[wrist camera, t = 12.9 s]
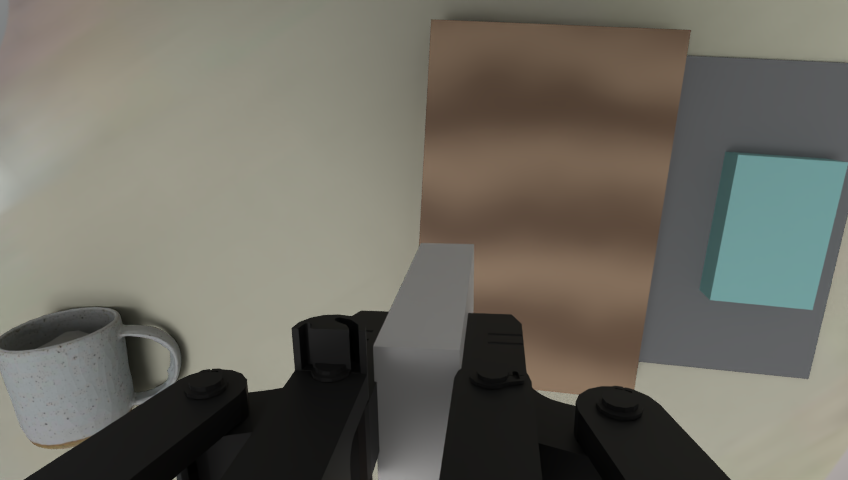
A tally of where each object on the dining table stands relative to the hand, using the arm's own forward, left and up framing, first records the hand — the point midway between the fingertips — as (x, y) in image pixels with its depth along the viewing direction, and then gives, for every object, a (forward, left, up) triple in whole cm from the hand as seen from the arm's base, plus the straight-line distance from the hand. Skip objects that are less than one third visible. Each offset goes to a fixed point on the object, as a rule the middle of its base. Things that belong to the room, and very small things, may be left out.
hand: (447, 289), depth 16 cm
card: (+2, +18, -20) cm, 27 cm away
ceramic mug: (+15, -27, -23) cm, 38 cm away
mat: (+2, +17, -23) cm, 28 cm away
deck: (+2, +4, -23) cm, 23 cm away
